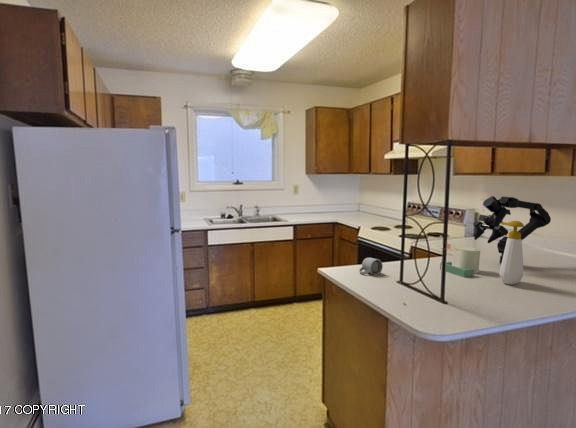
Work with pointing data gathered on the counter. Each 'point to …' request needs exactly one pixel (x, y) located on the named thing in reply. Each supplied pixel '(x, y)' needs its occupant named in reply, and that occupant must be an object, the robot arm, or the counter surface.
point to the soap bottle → (512, 256)
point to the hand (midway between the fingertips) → (481, 241)
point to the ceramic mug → (371, 266)
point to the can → (470, 258)
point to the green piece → (458, 270)
